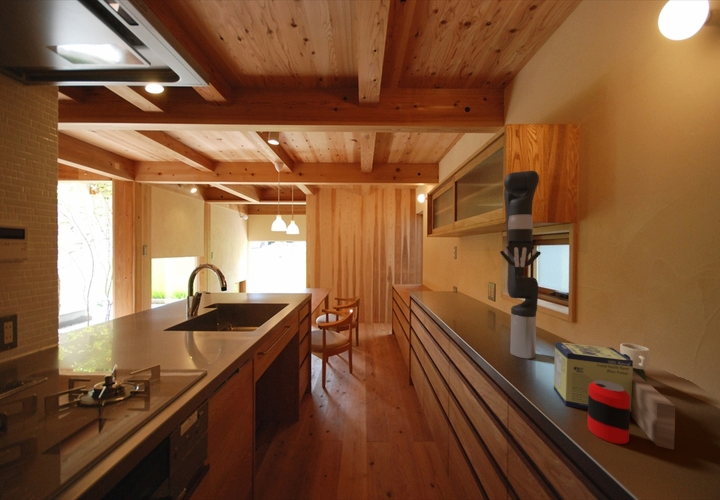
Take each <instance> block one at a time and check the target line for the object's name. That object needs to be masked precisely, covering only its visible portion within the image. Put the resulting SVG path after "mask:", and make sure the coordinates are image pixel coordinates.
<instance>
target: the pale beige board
mask: <svg viewBox="0 0 720 500" xmlns="http://www.w3.org/2000/svg"><path fill="white" fill-rule="evenodd" d="M630 418H632V419H633V420H634V422H636V424H637V425H638V426H639V427H640V429H641V430H642V431H643V433H645V435H647V437H648V438H649V440H651V442H652V443H653V444H654V446H657V447H661V448H665V449H668V450H675V436H676V435H675V428H676V425H675V424H676V423H675V422H676V405H675V404H674V403H673V402H671V401H670V400H669V399H668V398H666V396H664V395H663V394H662V393H660V392H659V391H658V390H657V389H655V388H654V386H652V385H651V384H650V383H648V382H646V381H645V380H644V379H642V378H641V377H640V376H639V375H638V374H636V373H635V372H634V371H633V374H632V406H631V417H630Z"/></svg>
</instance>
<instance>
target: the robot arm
mask: <svg viewBox="0 0 720 500" xmlns="http://www.w3.org/2000/svg"><path fill="white" fill-rule="evenodd" d="M539 181H540V175H539V174H538V172H537V171H535V170H525V171H524V170H523V171H517V172H516V171H515V172H510V173H508V174H507V175H506V176H505V178H504V180H503V187H504V189H503V190H504V191H503V197H504V198H503V199H504V206H505V208H504V209H505V217H506V246H505V248H504V249H503V250H501V251H500V252H499V253H500V255H501V256H502V257H503V258H504V259H505V261H506V262H507V286H506V287H507V294H508V296H509V297H510V298H511V299H512V298H513V299H521V300H522V299H524V300H523V302H521V303H519V304H516V305H513V306H511V308H510V347H509V348H510V352H509V353H510V354H511V355H513V356H515V357H516V358H520V359H521V358H522V359H528V360H529V359H535V358H536V344H537V343H536V342H537V341H536V339H537V337H536V335H537V330H536V329H537V311H538V299H539V283H538V280H537V278H535V277H532V276H525V268H526V267H528V266H529V267H530V266H531V265H532V264H533V262H535V261H536V259H537V258H538V257H539V256H540V255H541V253H542V252H541V251H539V250H537V249H535V245H534V244H533V232H534V231H533V230H534V229H533V228H534V221H533V203H534V197H535V194H536V191H537V188H538V185H539V183H540V182H539ZM530 254H531V255H532V256H531V257H530V258H529V259H528V260H527V261H526V259H527V257H528V256H529V255H530Z"/></svg>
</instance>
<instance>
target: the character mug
mask: <svg viewBox="0 0 720 500" xmlns="http://www.w3.org/2000/svg"><path fill="white" fill-rule="evenodd" d="M619 346H620V347H619V348H620V349H619V352H620V353H621V354H623V355H624V356H626V357H628V358H629V359H631V360H632V361H633V371H634V372H635V373H636V374H638V375H639V376H640V377H641V378H642V379H644V380H645V381H646V382H647V375H646V371H645V370H649V369H650V366H651V365H650V364H651V349H650V348H648V347H646V346H642V345H639V344H636V343H635V344H634V343H625V342H624V343H620V345H619ZM647 383H648V382H647Z"/></svg>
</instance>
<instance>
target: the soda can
mask: <svg viewBox="0 0 720 500" xmlns="http://www.w3.org/2000/svg"><path fill="white" fill-rule="evenodd" d="M630 418H631V417H630V396H629V394H628V393H627V392H626V391H625V389H624V388H623V387H622V386H620V385H618V384H615V383H613V382H609V381H604V380H595V381H594V382H592V383H591V384H590V385H589V387H588V409H587V428H588V430H589V431H590V432H591V433H592V434H593V435H594V436H596V437H597V438H599V439H601V440H603V441H605V442H609V443H612V444H614V445H615V444H616V445H624V444H627V443H628V442H629V441H630Z"/></svg>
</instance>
